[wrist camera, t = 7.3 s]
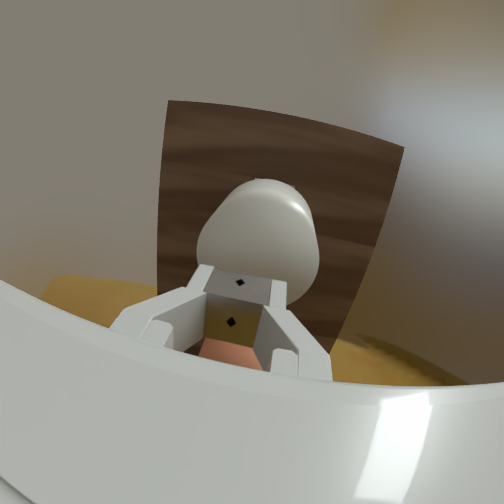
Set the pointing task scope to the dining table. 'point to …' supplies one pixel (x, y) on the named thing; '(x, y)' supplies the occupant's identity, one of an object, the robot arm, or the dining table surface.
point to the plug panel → (284, 170)
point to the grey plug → (263, 236)
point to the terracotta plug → (229, 353)
